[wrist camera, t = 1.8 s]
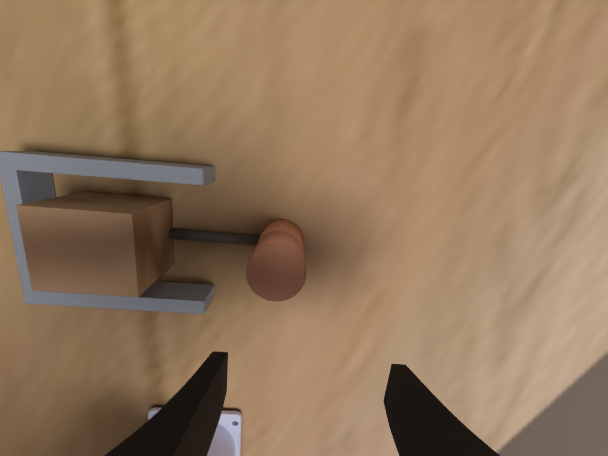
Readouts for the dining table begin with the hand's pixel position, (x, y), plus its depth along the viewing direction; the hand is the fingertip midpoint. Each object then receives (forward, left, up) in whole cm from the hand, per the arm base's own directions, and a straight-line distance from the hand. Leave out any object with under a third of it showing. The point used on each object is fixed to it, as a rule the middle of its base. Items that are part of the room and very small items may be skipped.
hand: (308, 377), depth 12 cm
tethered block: (+3, +8, -10) cm, 13 cm away
